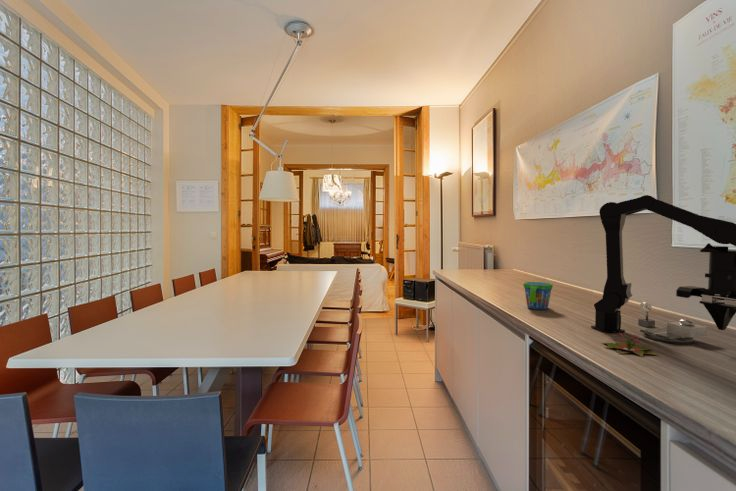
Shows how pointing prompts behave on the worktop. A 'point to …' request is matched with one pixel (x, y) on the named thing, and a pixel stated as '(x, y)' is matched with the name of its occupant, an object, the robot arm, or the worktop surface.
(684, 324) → the cover
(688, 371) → the worktop surface
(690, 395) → the worktop surface
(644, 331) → the turntable
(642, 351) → the lily flower
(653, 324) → the dial gauge
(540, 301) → the snack cup
